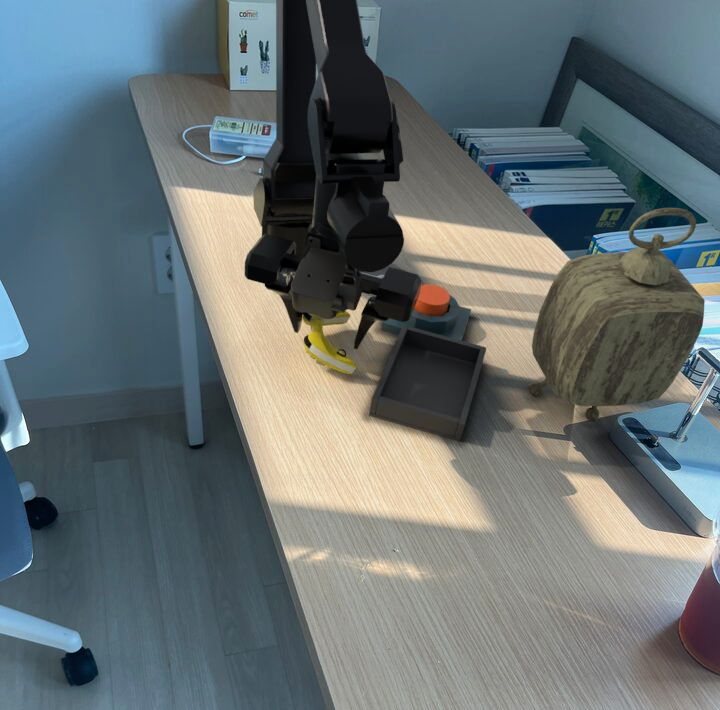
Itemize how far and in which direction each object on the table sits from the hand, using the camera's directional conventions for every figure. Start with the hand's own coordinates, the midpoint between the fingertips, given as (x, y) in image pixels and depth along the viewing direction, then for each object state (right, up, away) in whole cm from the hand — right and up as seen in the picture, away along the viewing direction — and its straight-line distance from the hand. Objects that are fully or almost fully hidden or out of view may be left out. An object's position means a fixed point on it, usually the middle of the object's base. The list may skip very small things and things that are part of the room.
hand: (326, 339), depth 89 cm
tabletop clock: (+30, -8, +1) cm, 31 cm away
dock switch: (+12, +3, +8) cm, 15 cm away
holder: (+12, -6, -1) cm, 13 cm away
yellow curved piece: (0, -1, +1) cm, 1 cm away
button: (+13, +5, +6) cm, 15 cm away
